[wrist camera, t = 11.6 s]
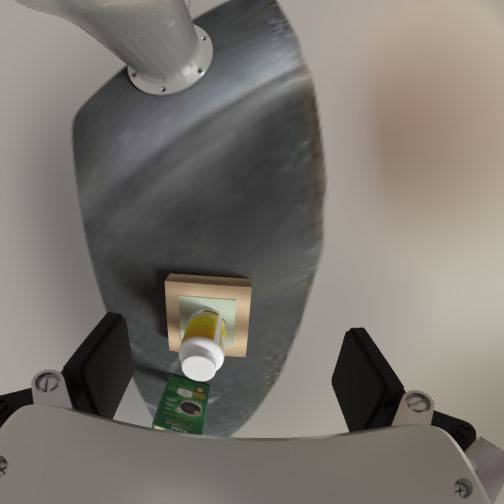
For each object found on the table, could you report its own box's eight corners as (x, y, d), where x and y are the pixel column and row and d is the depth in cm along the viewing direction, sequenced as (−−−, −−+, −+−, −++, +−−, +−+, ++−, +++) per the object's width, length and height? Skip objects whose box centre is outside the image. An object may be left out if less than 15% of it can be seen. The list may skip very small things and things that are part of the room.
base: (170, 273, 40) (164, 281, 36) (250, 279, 40) (251, 287, 37) (173, 340, 43) (169, 351, 40) (245, 345, 44) (245, 357, 40)
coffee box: (166, 381, 46) (150, 433, 33) (168, 371, 45) (151, 425, 32) (207, 393, 47) (200, 447, 34) (210, 384, 46) (203, 439, 33)
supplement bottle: (181, 320, 38) (164, 364, 28) (209, 300, 37) (199, 342, 28) (206, 345, 40) (197, 392, 30) (234, 327, 39) (232, 373, 29)
